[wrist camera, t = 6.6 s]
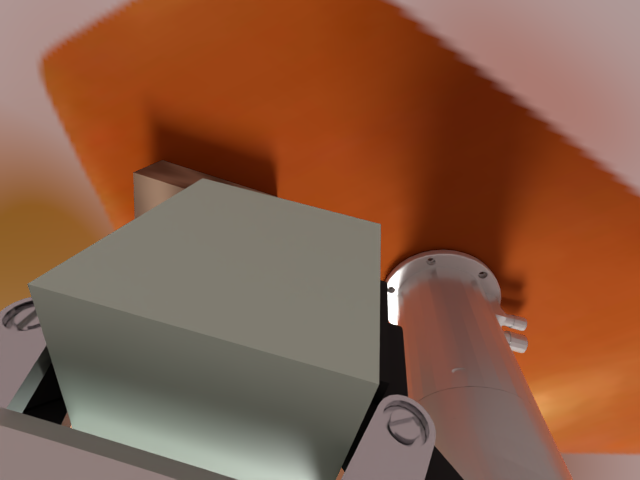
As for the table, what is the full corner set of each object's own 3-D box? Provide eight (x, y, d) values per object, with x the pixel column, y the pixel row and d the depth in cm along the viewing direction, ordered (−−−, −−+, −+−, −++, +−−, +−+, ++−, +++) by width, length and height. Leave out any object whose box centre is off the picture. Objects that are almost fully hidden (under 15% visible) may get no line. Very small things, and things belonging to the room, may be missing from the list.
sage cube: (380, 224, 10) (379, 384, 5) (338, 352, 13) (309, 537, 8) (202, 178, 11) (27, 283, 5) (199, 313, 14) (84, 466, 8)
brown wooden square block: (278, 195, 35) (263, 214, 30) (258, 286, 41) (244, 313, 37) (164, 159, 35) (133, 172, 30) (162, 255, 41) (136, 278, 37)
